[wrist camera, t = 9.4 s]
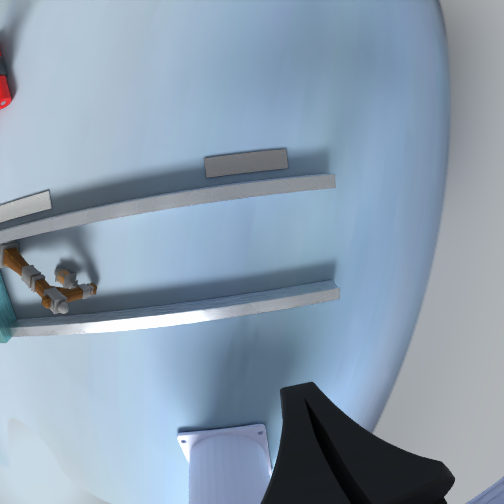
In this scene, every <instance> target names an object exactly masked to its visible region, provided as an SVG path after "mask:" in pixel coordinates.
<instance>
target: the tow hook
mask: <svg viewBox="0 0 504 504" xmlns="http://www.w3.org/2000/svg"><path fill="white" fill-rule="evenodd" d="M6 78H7V74H6V70H5V65H4V61H3V57H2V56H1V52H0V109H2V108H4V107H6V106H8V105H9V104H10V102H11V100H12V99H11V95H10V91H9V88H8V84H7V80H6Z"/></svg>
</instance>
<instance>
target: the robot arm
mask: <svg viewBox="0 0 504 504" xmlns="http://www.w3.org/2000/svg"><path fill="white" fill-rule="evenodd" d="M280 396H281V408H282V419H283V426H282V434H281V441H280V446H279V451H278V456H277V460H276V463H275V467H274V470H273V473H272V469H271V463H270V456H269V449H268V442H267V435H266V429H265V425H263V424H255V425H248V426H241V427H233V428H225V429H216V430H206V431H195V432H181V433H178V434H177V440H178V442H179V444H180V446H181V448H182V450H183V453H184V455H185V457H186V459H187V461H188V463H189V504H447V502H446V500H445V499H444V496H445V495H446V494H447V493H448V491H449V490H450V489H451V487H452V486H453V484H454V482H455V477H454V476H453V475H452V473H451V472H450V471H449V469H448V468H447V467H446V466H445V465H444V464H443V463H442V462H441V461H437V460H433V459H429V458H425V457H421V456H418V455H415V454H412V453H410V452H407V451H405V450H403V449H400V448H398V447H396V446H393V445H391V444H389V443H387V442H385V441H384V440H382V439H380V438H378V437H376V436H375V435H373V434H372V433H370V432H369V431H367V430H366V429H364V428H363V427H361V426H360V425H359V424H357V423H356V422H355V421H353V420H352V419H351V418H349V417H348V416H347V415H346V414H345V413H344V412H342V411H341V410H340V409H339V408H338V407H337V406H336V405H335V404H334V403H333V402H332V401H331V400H330V399H329V398H328V397H327V396H326V395H325V394H324V393H323V392H322V391H321V390H320V389H319V388H318V387H317V386H316V384H315V383H313V382H308V383H304V384H299V385H294V386H289V387H284V388H282V389H281V390H280ZM271 475H272V476H271ZM270 476H271V479H270ZM466 504H504V477H502V478H501V479H500V480H499V481H498V482H496V483H495V484H493V485H492V486H491V487H489V488H488V489H486V490H485V491H484V492H482V493H481V494H479V495H478V496H476V497H475V498H473V499H472V500H470V501H469V502H467V503H466Z"/></svg>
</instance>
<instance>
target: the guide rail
mask: <svg viewBox="0 0 504 504" xmlns="http://www.w3.org/2000/svg"><path fill="white" fill-rule="evenodd" d="M204 162H205V169H206V177H207V178H209V177H216V176H224V175H231V174H239V173H248V172H256V171H265V170H275V169H285V168H288V163H287V153H286V149H281V150H270V151H260V152H250V153H241V154H233V155H225V156H217V157H210V158H204ZM328 188H336V183H335V175H334V174H314V175H303V176H292V177H282V178H273V179H264V180H255V181H247V182H239V183H231V184H224V185H216V186H209V187H202V188H196V189H189V190H183V191H177V192H170V193H164V194H159V195H153V196H147V197H142V198H136V199H131V200H126V201H121V202H115V203H110V204H106V205H101V206H96V207H91V208H87V209H82V210H78V211H73V212H69V213H64V214H60V215H56V216H52V217H48V218H44V219H40V220H36V221H32V222H28V223H24V224H20V225H17V226H13V227H9V228H6V229H2V230H0V243H4V242H8V241H12V240H16V239H20V238H24V237H28V236H33V235H37V234H41V233H46V232H50V231H55V230H59V229H64V228H69V227H73V226H78V225H83V224H88V223H93V222H98V221H103V220H108V219H114V218H119V217H124V216H130V215H136V214H141V213H147V212H153V211H159V210H165V209H171V208H177V207H184V206H190V205H197V204H203V203H210V202H217V201H224V200H232V199H239V198H247V197H255V196H263V195H271V194H280V193H289V192H298V191H308V190H318V189H328ZM51 208H52V205H51V200H50V194H49V191H47V192H43V193H40V194H36V195H33V196H29V197H26V198H23V199H20V200H17V201H13V202H10V203H7V204H4V205H1V206H0V222H4V221H7V220H11V219H14V218H17V217H21V216H25V215H28V214H32V213H36V212H39V211H43V210H47V209H51ZM336 299H340V288H339V287H338V286H337V285H336V284H335V283H334V282H333V280H327V281H322V282H316V283H310V284H304V285H298V286H292V287H286V288H280V289H274V290H268V291H261V292H255V293H248V294H241V295H235V296H228V297H221V298H214V299H207V300H199V301H192V302H184V303H177V304H169V305H161V306H152V307H144V308H135V309H126V310H117V311H108V312H98V313H88V314H77V315H66V316H55V317H42V318H29V319H16V316H15V313H14V311H13V308H12V305H11V302H10V300H9V297H8V294H7V291H6V288H5V285H4V281H3V278H2V275H1V272H0V343H7V341H8V340H9V339H10V338H11V337H21V336H48V335H67V334H82V333H96V332H109V331H120V330H131V329H142V328H151V327H161V326H169V325H178V324H186V323H194V322H202V321H209V320H217V319H224V318H231V317H238V316H244V315H251V314H257V313H263V312H270V311H276V310H282V309H287V308H293V307H299V306H304V305H310V304H315V303H321V302H326V301H331V300H336Z"/></svg>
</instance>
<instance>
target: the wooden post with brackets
mask: <svg viewBox="0 0 504 504" xmlns="http://www.w3.org/2000/svg"><path fill="white" fill-rule="evenodd" d="M18 251H19V244H18V243H17V242H16V241H15V242H8V243H1V244H0V268H4V267H9V268H11V269H12V270H13V271H15V272H16V273H18V274H19V275H20V276H21V280H22V281H24V282H25V283H26V284H27V285H28V287H29V288H31V291H33V292H37V293H38V294H39V295H40V296H41V297H42V305H43V306H44V307H45V308H49V309H50V310H51V311H52V312H53V313H54V314H57V313H62V314H65V313H67V312H68V310H69V306H68V304H67V303H68V302H71V301H74V300H77V299H80V298H81V299H86V298H89V296H90V295H91V296H92V295H94V294H96V290H97V286H96V285H95V284H93V283H90V284H87V285H86V284H81V285H78V284H77V283H78V280H76V281H75V277H76V273H72V274H71V273H70V272H69V271H68V270H67V269H65V268H61V269H60V268H57V269H56V270H55V272H54V273H55V275H56V279H55V282H59V283H61V284H62V285H63V288H61V287H54V286H50V285H49V284H48V283H47V282H46V281H45V276H44V275H41V272H39V271H38V270H37V269H35V268H34V266H33V265H29V264H28V263H27V262H26V261H25V260H24V258H23V257H22V256H21V254H20V253H19V252H18ZM68 288H71V289H68Z"/></svg>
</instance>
